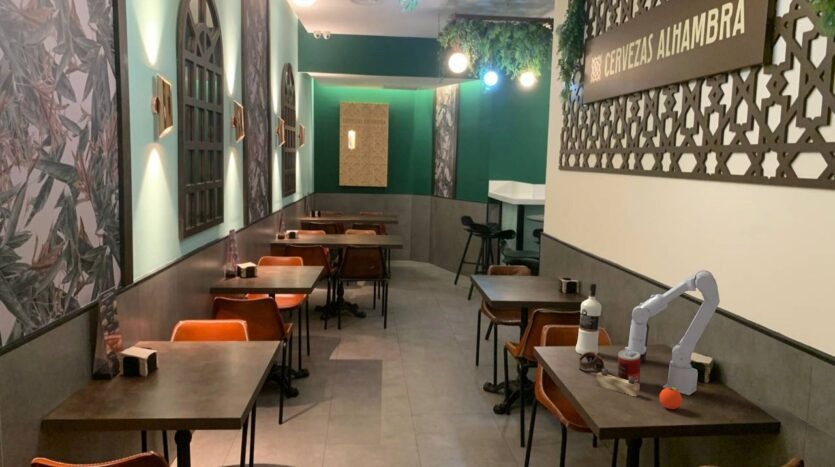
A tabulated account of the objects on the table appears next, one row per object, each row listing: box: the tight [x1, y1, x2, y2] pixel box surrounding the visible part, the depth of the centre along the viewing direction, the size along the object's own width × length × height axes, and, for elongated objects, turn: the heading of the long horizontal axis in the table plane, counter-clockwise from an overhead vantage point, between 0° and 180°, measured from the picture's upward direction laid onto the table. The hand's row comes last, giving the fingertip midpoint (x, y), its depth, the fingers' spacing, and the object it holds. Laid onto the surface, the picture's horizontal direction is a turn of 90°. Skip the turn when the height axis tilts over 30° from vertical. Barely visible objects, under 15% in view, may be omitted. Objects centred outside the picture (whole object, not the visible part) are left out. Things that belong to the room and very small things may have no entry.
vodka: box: [575, 282, 602, 356], centre depth 262 cm, size 9×9×30 cm
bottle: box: [641, 323, 650, 363], centre depth 257 cm, size 7×7×20 cm
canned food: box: [617, 349, 641, 384], centre depth 229 cm, size 8×8×11 cm
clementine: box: [658, 387, 683, 410], centre depth 208 cm, size 8×7×7 cm
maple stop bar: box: [594, 368, 641, 398], centre depth 222 cm, size 15×3×6 cm, turn 48°
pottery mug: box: [578, 351, 606, 371], centre depth 242 cm, size 12×10×8 cm
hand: (633, 373), depth 233 cm, fingers closed, pressing on canned food
